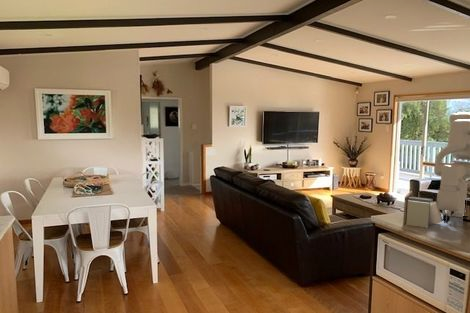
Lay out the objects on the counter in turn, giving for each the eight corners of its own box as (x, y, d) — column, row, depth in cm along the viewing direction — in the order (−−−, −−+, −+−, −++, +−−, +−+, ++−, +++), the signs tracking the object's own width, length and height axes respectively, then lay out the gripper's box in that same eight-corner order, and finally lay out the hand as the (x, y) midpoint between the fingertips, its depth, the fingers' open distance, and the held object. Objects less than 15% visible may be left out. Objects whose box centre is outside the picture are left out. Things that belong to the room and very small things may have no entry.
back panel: (408, 216, 200) (410, 190, 199) (410, 216, 200) (412, 191, 198) (403, 224, 185) (404, 196, 183) (405, 224, 184) (406, 197, 183)
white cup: (436, 224, 180) (428, 206, 181) (424, 224, 188) (418, 206, 189) (447, 219, 182) (440, 201, 183) (435, 219, 190) (429, 201, 191)
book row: (407, 222, 189) (409, 197, 187) (428, 225, 183) (430, 199, 181) (406, 224, 184) (407, 198, 183) (427, 228, 178) (429, 201, 177)
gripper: (465, 189, 179) (462, 223, 181) (432, 185, 188) (430, 218, 189) (465, 191, 173) (462, 226, 175) (431, 187, 181) (429, 221, 183)
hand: (445, 222), depth 182 cm, fingers closed
